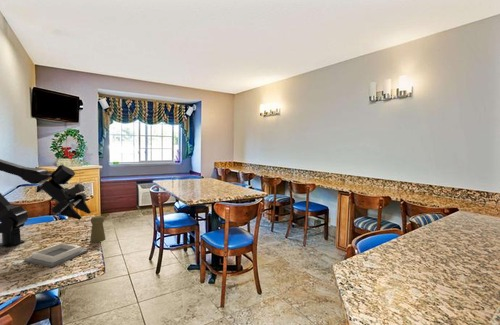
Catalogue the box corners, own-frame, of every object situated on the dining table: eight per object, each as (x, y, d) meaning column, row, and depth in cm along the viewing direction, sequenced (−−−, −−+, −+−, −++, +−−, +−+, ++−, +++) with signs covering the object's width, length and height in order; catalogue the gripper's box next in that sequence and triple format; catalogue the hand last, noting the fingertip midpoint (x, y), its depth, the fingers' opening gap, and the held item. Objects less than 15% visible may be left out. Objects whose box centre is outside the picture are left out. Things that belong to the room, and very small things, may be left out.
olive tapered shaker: (98, 243, 112) (97, 218, 112) (86, 241, 114) (86, 217, 113) (108, 238, 118) (108, 214, 118) (97, 237, 120) (96, 213, 119)
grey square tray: (24, 261, 94) (24, 254, 94) (62, 246, 108) (62, 240, 108) (51, 267, 90) (51, 260, 90) (87, 251, 103) (87, 245, 103)
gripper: (59, 181, 103) (90, 207, 106) (80, 176, 121) (106, 198, 124) (37, 201, 102) (69, 227, 105) (62, 192, 120) (89, 214, 123)
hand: (85, 215), depth 114 cm, fingers open, 9 cm apart
